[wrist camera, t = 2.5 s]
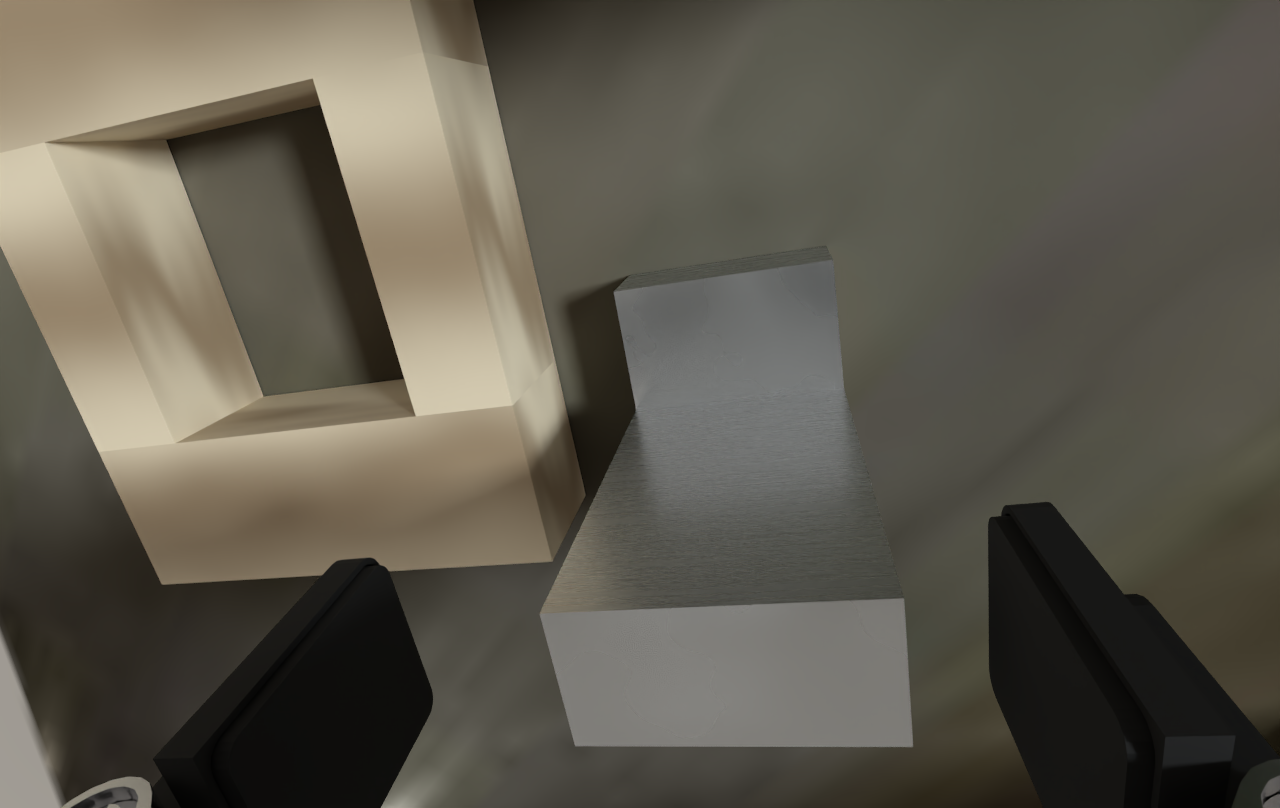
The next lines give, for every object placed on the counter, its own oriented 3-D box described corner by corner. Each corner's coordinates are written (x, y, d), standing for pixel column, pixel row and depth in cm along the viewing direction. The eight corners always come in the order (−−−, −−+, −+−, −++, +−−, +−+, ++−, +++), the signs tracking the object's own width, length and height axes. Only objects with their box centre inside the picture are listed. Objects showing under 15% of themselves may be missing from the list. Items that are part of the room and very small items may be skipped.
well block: (585, 495, 21) (552, 561, 18) (244, 522, 24) (161, 584, 20) (441, -142, 16) (355, -211, 12) (21, -14, 18) (-138, -45, 15)
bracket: (843, 449, 19) (913, 747, 10) (663, 464, 20) (575, 745, 11) (826, 245, 17) (890, 379, 8) (628, 275, 18) (487, 422, 9)
